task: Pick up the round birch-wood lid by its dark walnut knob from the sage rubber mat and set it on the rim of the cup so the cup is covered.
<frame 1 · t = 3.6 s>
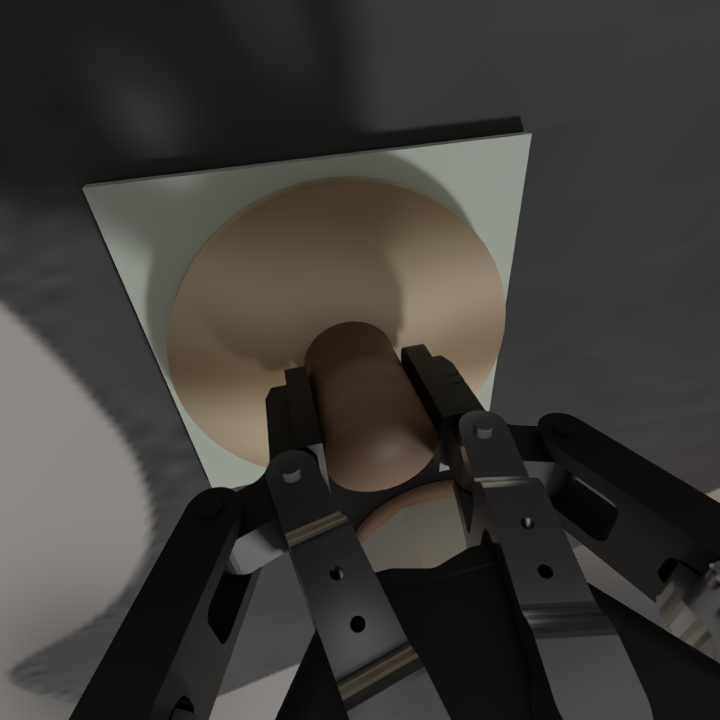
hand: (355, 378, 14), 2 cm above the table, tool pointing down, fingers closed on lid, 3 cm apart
lid: (343, 345, 16), resting on mat, touching gripper
mat: (341, 339, 16), on the table
cup: (429, 533, 26), on the table
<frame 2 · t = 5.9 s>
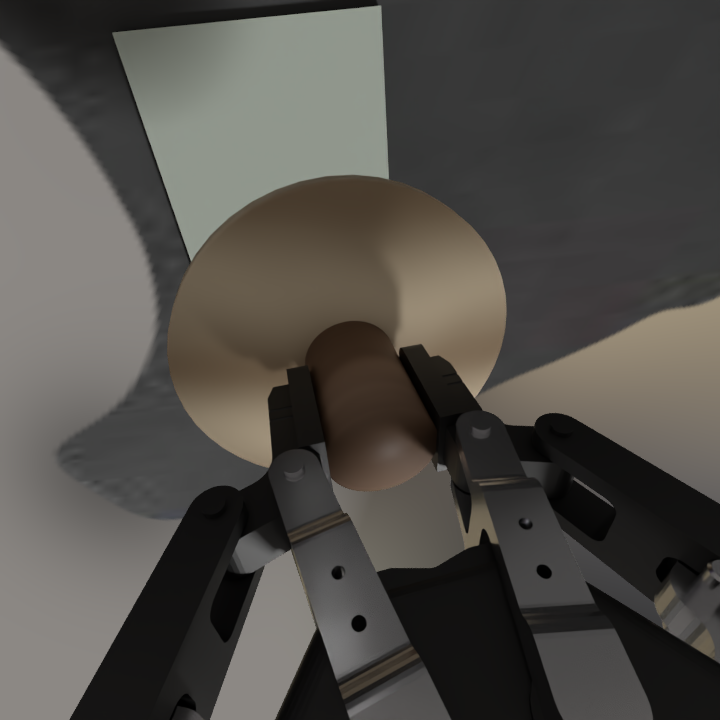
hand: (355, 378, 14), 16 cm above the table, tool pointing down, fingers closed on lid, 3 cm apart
lid: (344, 344, 16), point 14 cm above the table, touching gripper
mat: (278, 160, 25), on the table
when the fingers open (10 cm above the table, at t = 8.0 s): lid drops 2 cm, resting on cup.
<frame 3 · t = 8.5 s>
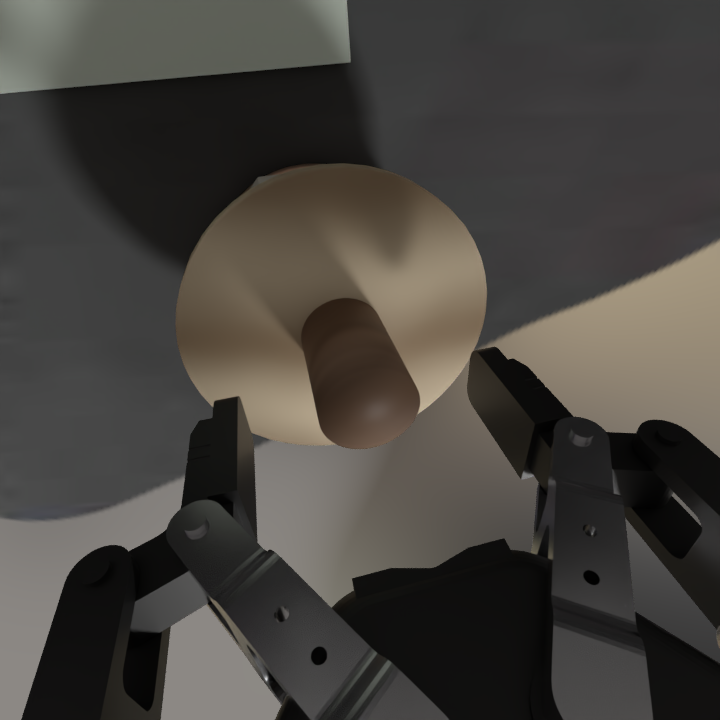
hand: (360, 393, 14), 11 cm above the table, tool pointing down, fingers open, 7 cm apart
lid: (337, 322, 17), point 6 cm above the table, touching cup
cup: (315, 265, 22), on the table
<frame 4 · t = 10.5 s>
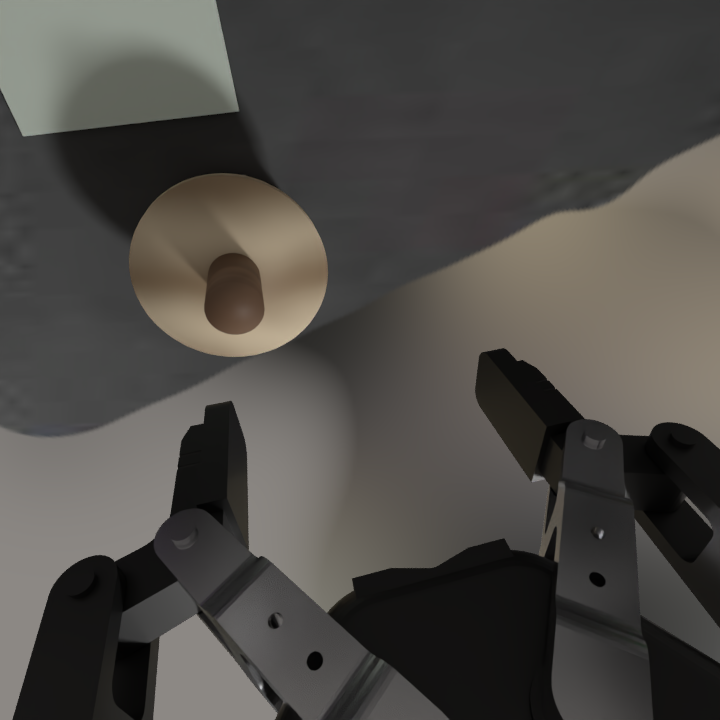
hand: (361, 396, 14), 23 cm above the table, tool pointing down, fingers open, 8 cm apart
lid: (234, 271, 28), point 6 cm above the table, touching cup
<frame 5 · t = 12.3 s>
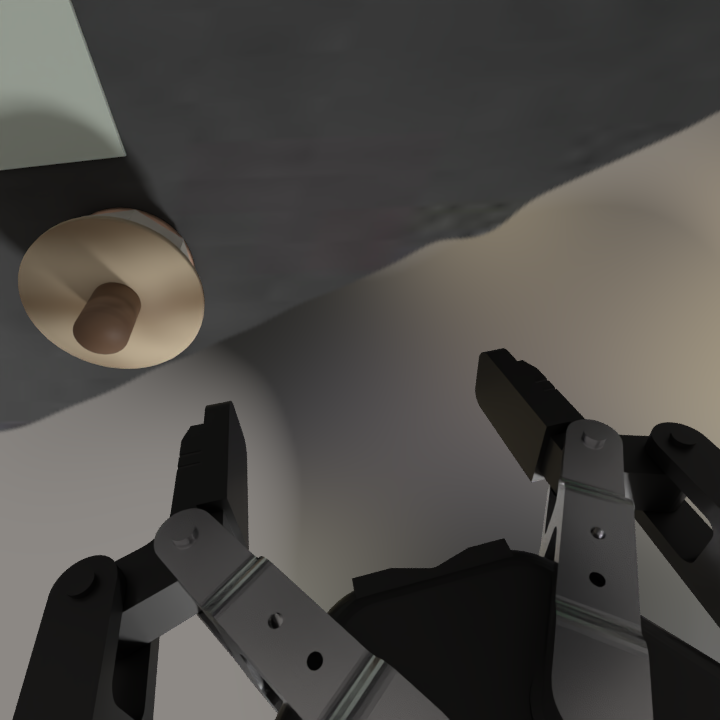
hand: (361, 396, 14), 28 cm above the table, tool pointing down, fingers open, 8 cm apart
lid: (120, 296, 32), point 6 cm above the table, touching cup
cup: (134, 265, 37), on the table
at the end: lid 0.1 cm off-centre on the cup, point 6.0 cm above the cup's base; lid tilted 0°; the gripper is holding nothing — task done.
